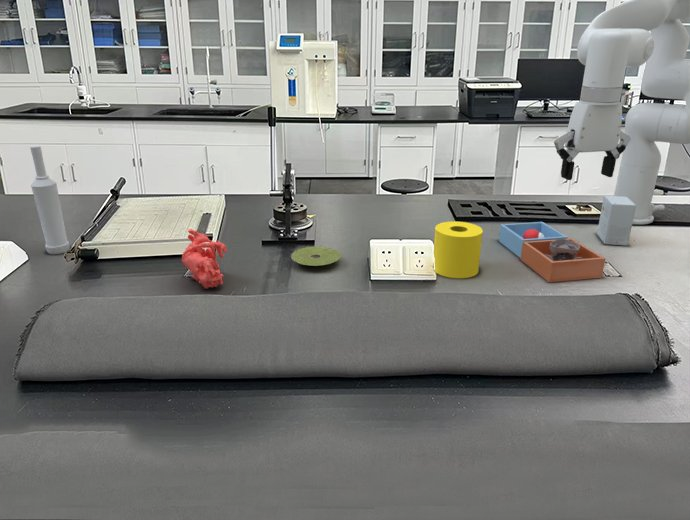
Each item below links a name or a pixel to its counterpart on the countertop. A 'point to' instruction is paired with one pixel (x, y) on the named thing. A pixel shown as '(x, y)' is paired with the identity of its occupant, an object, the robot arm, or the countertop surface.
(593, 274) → the bin
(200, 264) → the anatomical heart
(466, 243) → the tape roll
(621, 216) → the small box
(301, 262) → the green sanding disc
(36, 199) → the bottle
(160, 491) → the countertop surface
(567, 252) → the dental mold
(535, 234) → the molecule
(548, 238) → the blue bin
